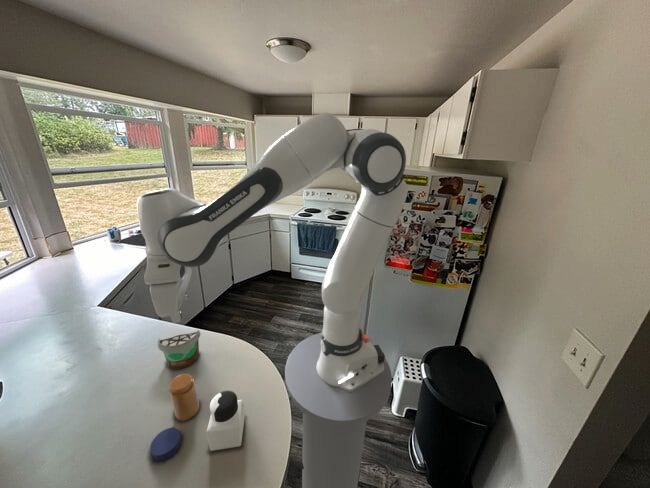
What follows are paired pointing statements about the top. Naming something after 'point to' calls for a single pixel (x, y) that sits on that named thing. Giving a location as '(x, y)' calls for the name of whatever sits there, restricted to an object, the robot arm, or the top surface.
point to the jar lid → (165, 444)
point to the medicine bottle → (225, 421)
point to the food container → (180, 349)
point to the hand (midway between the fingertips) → (181, 309)
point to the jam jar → (184, 397)
